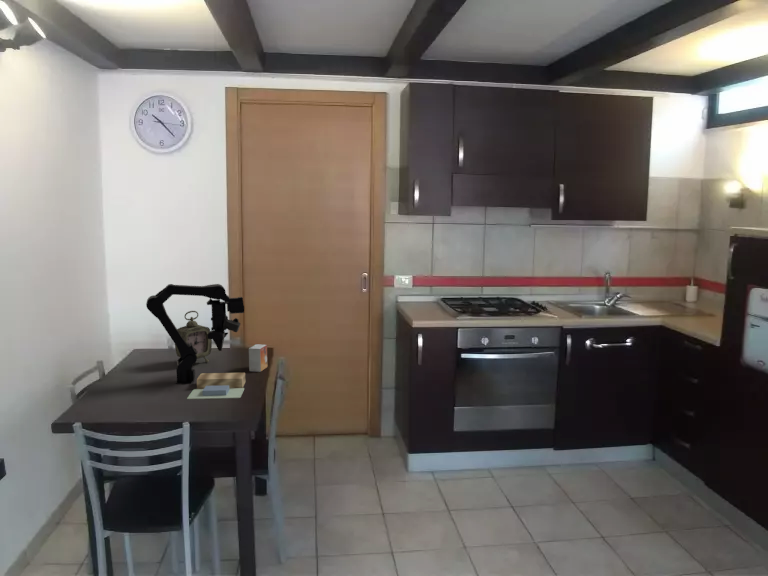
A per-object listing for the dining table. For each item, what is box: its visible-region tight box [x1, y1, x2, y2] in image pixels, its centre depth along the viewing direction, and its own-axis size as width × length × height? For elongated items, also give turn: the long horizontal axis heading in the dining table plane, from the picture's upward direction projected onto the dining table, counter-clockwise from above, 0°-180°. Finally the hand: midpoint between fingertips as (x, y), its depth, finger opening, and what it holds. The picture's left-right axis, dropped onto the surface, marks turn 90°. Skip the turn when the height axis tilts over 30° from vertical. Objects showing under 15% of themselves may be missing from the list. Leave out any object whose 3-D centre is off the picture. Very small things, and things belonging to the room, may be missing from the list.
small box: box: [248, 343, 268, 373], centre depth 262 cm, size 8×6×10 cm
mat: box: [186, 387, 245, 400], centre depth 230 cm, size 20×11×1 cm, turn 94°
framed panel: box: [196, 372, 246, 389], centre depth 240 cm, size 18×8×4 cm, turn 94°
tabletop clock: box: [174, 310, 213, 363], centre depth 269 cm, size 14×9×25 cm, turn 139°
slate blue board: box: [203, 385, 229, 396], centre depth 230 cm, size 9×6×2 cm, turn 94°
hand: (220, 350), depth 249 cm, fingers closed
